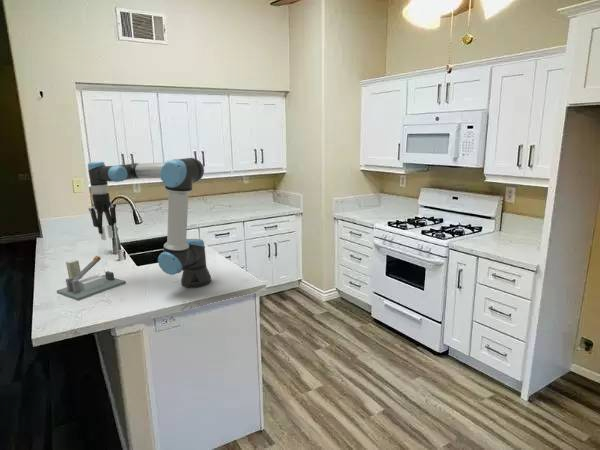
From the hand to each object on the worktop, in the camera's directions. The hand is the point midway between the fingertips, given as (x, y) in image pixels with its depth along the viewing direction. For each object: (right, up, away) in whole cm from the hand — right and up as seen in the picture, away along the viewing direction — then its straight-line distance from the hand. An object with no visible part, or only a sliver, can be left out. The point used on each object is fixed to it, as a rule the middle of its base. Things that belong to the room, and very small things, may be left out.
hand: (107, 238), depth 199 cm
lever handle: (-9, -16, -2) cm, 18 cm away
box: (-24, -23, +13) cm, 36 cm away
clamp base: (-8, -25, +1) cm, 27 cm away
